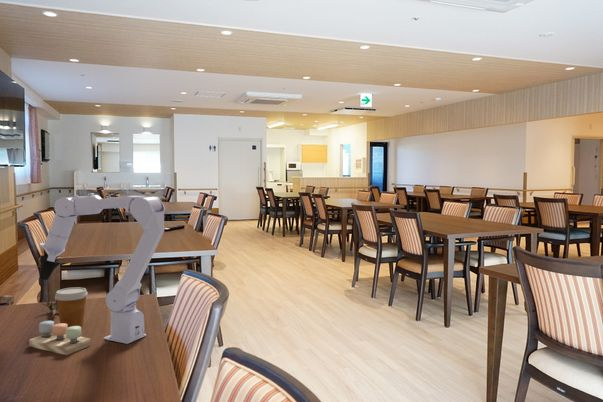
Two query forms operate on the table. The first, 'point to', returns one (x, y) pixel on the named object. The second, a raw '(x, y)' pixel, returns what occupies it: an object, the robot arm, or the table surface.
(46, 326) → the slate button
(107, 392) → the table surface
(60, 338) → the peach round knob
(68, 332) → the sage button
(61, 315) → the disposable coffee cup
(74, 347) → the button board
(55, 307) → the eagle figurine
